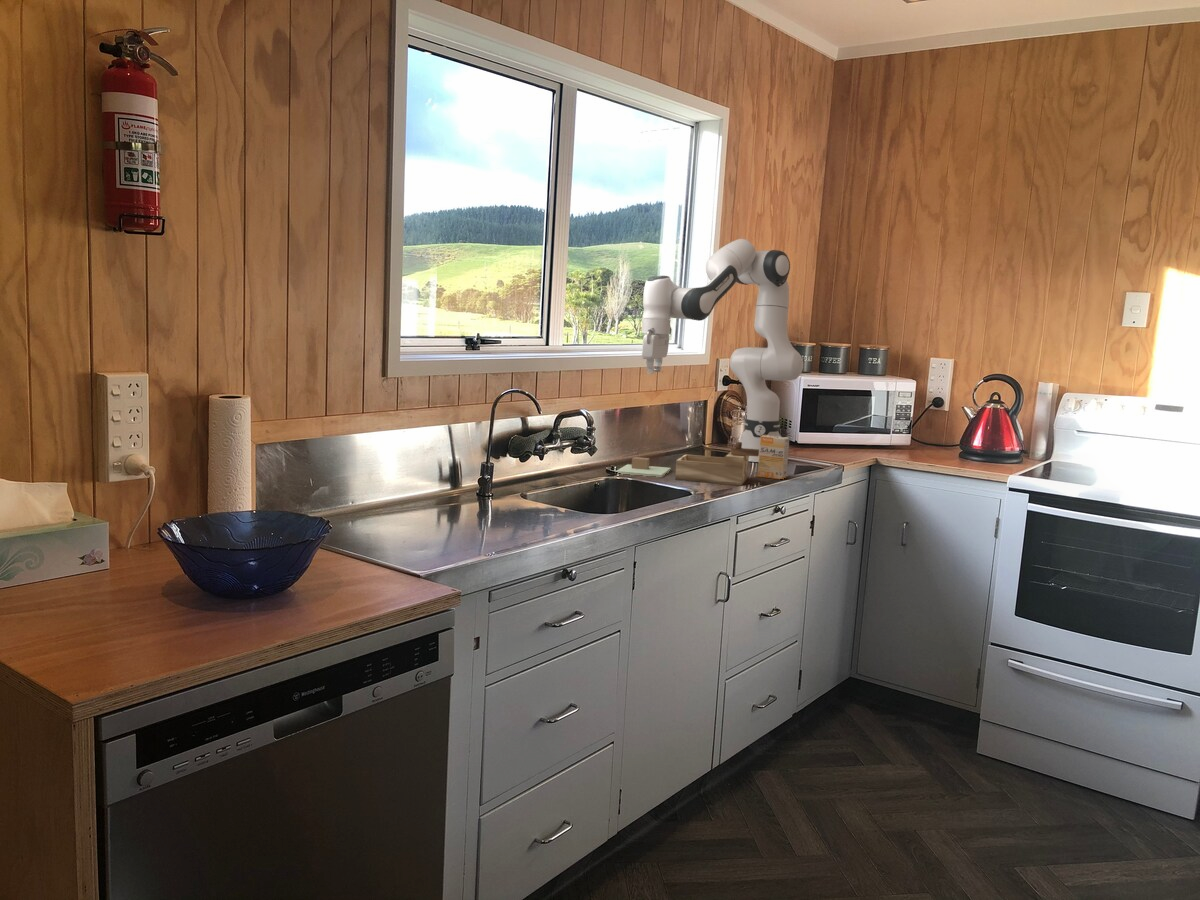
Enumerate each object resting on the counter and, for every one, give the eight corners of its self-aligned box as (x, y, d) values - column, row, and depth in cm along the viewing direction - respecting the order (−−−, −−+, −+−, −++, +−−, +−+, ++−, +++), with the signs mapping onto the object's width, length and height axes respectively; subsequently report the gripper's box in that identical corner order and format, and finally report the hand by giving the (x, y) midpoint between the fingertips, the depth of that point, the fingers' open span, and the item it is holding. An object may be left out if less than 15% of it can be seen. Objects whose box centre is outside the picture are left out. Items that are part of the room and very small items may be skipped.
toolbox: (684, 472, 304) (685, 446, 302) (747, 478, 298) (749, 451, 297) (675, 480, 290) (676, 452, 289) (741, 485, 285) (742, 457, 284)
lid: (627, 468, 311) (627, 454, 310) (670, 472, 307) (671, 458, 307) (615, 475, 298) (616, 460, 297) (661, 479, 294) (661, 464, 293)
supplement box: (757, 477, 301) (759, 435, 299) (761, 475, 305) (764, 434, 303) (782, 480, 297) (785, 438, 295) (787, 478, 301) (789, 436, 299)
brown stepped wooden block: (732, 453, 290) (732, 441, 290) (758, 455, 288) (759, 443, 287) (730, 454, 288) (731, 442, 287) (757, 456, 286) (758, 444, 285)
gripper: (658, 329, 288) (656, 375, 290) (672, 328, 308) (670, 371, 310) (637, 328, 290) (636, 374, 292) (653, 327, 310) (651, 370, 312)
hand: (654, 372), depth 301 cm, fingers open, 8 cm apart
